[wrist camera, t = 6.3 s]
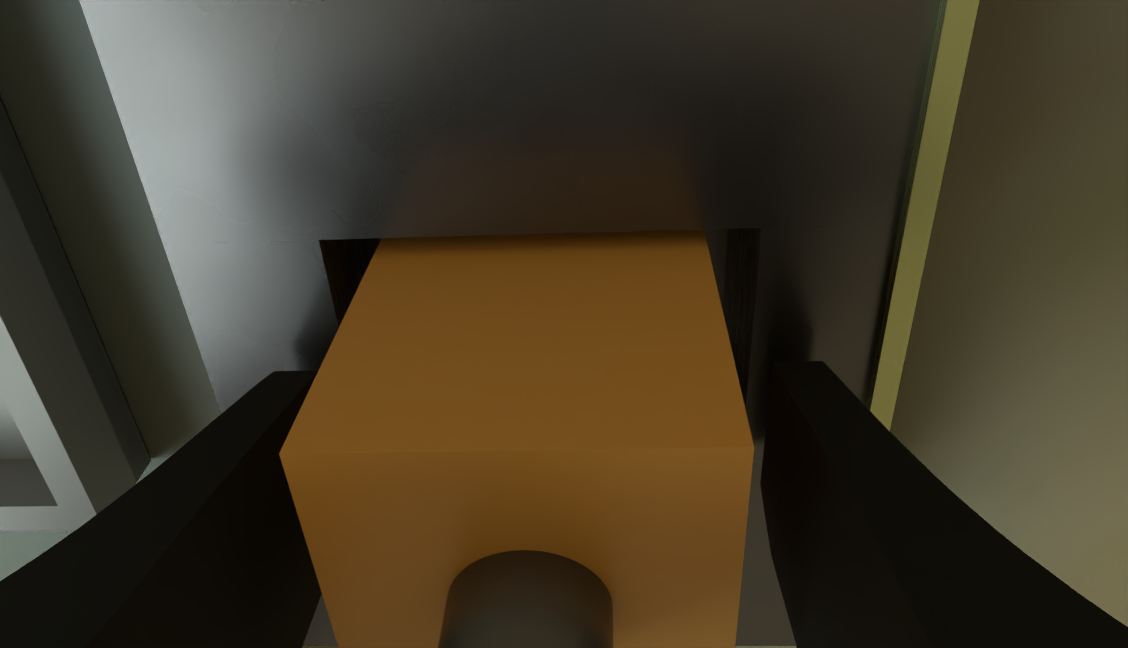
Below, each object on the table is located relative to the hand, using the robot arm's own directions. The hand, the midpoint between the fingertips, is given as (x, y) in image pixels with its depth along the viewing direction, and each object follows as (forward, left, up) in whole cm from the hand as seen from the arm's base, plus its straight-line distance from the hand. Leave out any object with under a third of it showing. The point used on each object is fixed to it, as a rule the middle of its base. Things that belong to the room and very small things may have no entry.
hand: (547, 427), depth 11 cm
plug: (0, 0, -3) cm, 3 cm away
